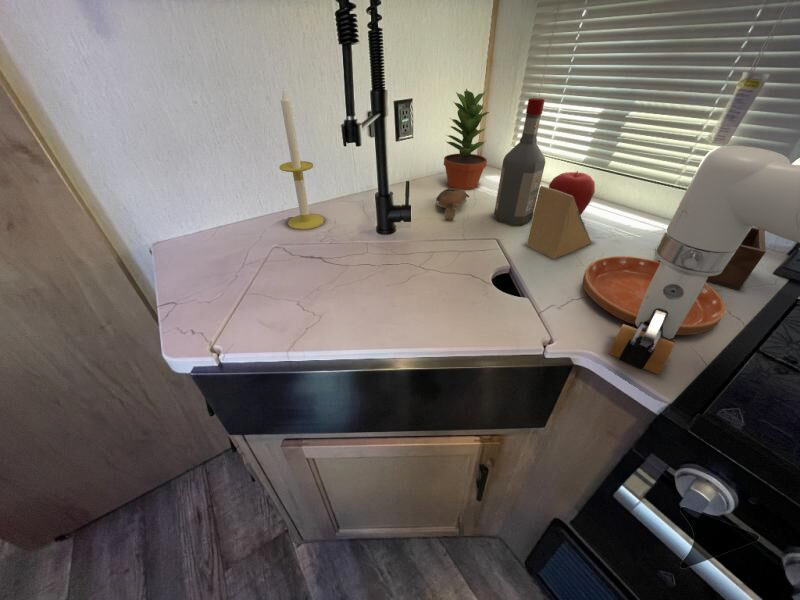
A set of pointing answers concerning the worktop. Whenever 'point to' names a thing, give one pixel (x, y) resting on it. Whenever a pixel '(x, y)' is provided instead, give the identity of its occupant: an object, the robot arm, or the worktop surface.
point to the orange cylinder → (656, 359)
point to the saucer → (627, 284)
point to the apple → (575, 187)
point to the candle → (297, 173)
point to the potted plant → (466, 145)
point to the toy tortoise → (451, 201)
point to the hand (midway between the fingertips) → (637, 346)
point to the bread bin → (742, 261)
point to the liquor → (521, 172)
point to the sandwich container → (556, 224)
